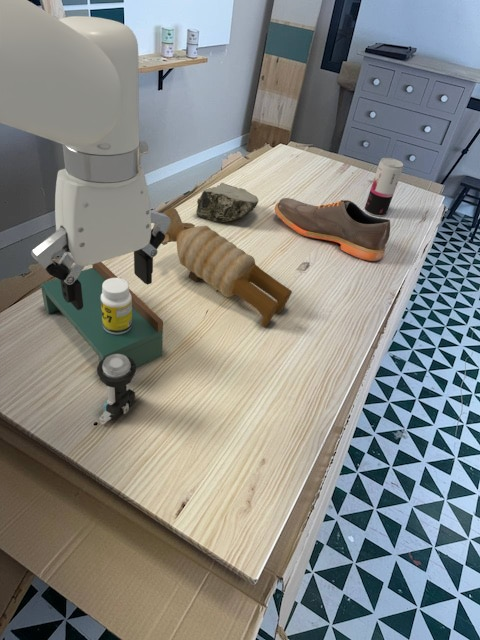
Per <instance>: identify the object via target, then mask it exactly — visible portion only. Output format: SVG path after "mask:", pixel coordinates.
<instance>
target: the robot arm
mask: <svg viewBox="0 0 480 640" xmlns="http://www.w3.org/2000/svg"><path fill="white" fill-rule="evenodd" d="M139 81H140V79H139V44H138V38H137V37H136V35H135V33H134V31H133V30H132V29H131V28H130V27H129V26H128V25H127V24H124V23H122V22H120V21H117V20H112V19H108V18H103V17H96V16H86V15H84V16H82V15H71V16H65V17H62V18H59V19H58V17H55V16H53V15H52V14H50V13H49V12H47V11H46V10H44V9H42V8H41V7H39V6H37V4H34V3H33V2H32V1H29V0H0V124H2V125H5V126H8V127H11V128H14V129H17V130H20V131H23V132H26V133H28V134H31V135H34V136H38V137H41V138H43V139H46V140H49V141H52V142H55V143H58V144H61V145H62V152H63V160H64V168H61V169H58V171H57V175H56V183H55V197H54V217H55V218H54V219H55V220H54V221H55V232H54V233H52V234H50V236H48V237H47V238H46V239H45V240H43V241H42V242H41V243H39V244H38V245H37V246H36V247H34V248H33V249H32V250H31V252H30V254H31V257H32V258H34V260H35V261H36V262H37V263H38V264H39V265H40V266H41V267H42V268H43V269H44V270H45V271H46V272H47V274H49V275H50V276H52V277H54V278H55V279H60V280H61V287H62V294H63V297H64V299H65V300H66V302H67V303H69V302H71V304H72V305H73V306H74V307H75V308H76V309H77V310H80V309H82V307H83V298H82V289H81V283H80V281H79V280H78V279H77V277H78V276H79V274H80V273H81V271H83V270H84V269H85V267H87V266H91V265H92V264H95V263H99V262H102V263H103V262H105V261H108V260H112V259H115V258H118V257H122V256H124V255H128V254H131V253H133V271H134V275H135V276H136V277H137V278H138V279H139V280H140V281H142V282H143V283H144V285H152V282H153V273H154V258H155V257H157V255H158V250H157V249H159V247H160V246H161V245H162V242H163V240H164V239H165V235H164V234H165V233H166V232H167V229H168V227H169V225H170V223H171V219H170V218H169V217H168V216H166V215H165V214H162V213H163V212H159V211H155V210H153V209H151V201H150V195H149V188H148V183H147V179H146V174H145V171H144V169H143V167H141V157H142V156H143V155H147V154H148V153H149V146H148V143H147V141H145V140H142V141H140V97H139V96H140V95H139V94H140V93H139V92H140V91H139V90H140V89H139V87H140V86H139ZM152 224H153V227H154V228H152ZM154 224H155V225H154ZM59 251H61V252H64V253H63V254H62V256H61V257H60V259H59V261H57V262H56V261H55V260H53V259H52V258H53V257H54V255H55V254H56V253H58V252H59Z"/></svg>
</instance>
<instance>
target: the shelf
mask: <svg viewBox="0 0 480 640" xmlns="http://www.w3.org/2000/svg"><path fill="white" fill-rule="evenodd" d="M110 278H119V277H118V276H117V275H116V274H115V273H114V272H113V271H112V270H110V268H108V266H106V264H104V263H103V261H102V262H99V263H95V264H92V266H91V267H90V268H87V269H83V270H82V271H81V273H80V274H79V276H78V277H77V279H78V280H79V281H80V283H81V289H82V298H83V307H82V309H80V310H77V309H76V308H75V307H74V306H73V305H72V304H71V302H69V303H67V302H66V300H65V299H64V297H63V294H62V287H61V280H60V279H58V278H55V279H54V278H53V279H51V280H49V281H44V282H42V283H40V288H41V293H42V300H43V305H44V306H43V307H44V310H45V311H46V313H47V314H49V315H51V314H53V313H55V312H59V311H60V313H61V314H62V315H63V316H64V317H65V318H66V320H67V321H68V322H69V323H70V324H71V325H72V327H73V328H74V329H75V330H76V331H77V332H78V334H80V336H81V337H82V338H83V340H84V341H85V342H86V343H87V344H88V345H89V347H90V348H91V349H92V350H93V351H94V352H95V354H96V355H97V356H98V363H99V362H100V361H101V360H102V359H104V358H106V357H108V356H110V355H113V354H121V355H125V356H128V357H130V358H131V359H132V360H133V361H134V362H135V364H136V369H137V368H138V367H141V366H143V365H145V364H147V363H149V362H152V361H154V360H155V359H158V358H160V357H162V356H163V338H164V337H163V334H164V320H162V318H161V317H159V316H158V314H156V313H155V312H154V311H153V310H152V309H151V307H149V306H148V305H147V304H146V303H145V302H144V301H143V300H142V299H141V298H139V297H138V295H136V293H135V292H133V290H131V288H129V292H130V294H131V297H132V327H131V329H130V330H129V331H127V332H126V333H123V334H111V333H108V332H107V331H106V330H105V329H104V328H103V324H102V312H101V311H102V310H101V294H102V284H103V282H104V281H106V280H107V279H110ZM103 374H104V372H103Z"/></svg>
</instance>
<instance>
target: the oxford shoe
mask: <svg viewBox="0 0 480 640" xmlns="http://www.w3.org/2000/svg"><path fill="white" fill-rule="evenodd" d="M274 213H275V214H276V216H277V217H278V218H279V219H280V220H281V221H282V222H283V223H284V224H285V225H286V226H288V227H289V228H290V229H291V230H293V231H294V232H296V233H298V234H299V235H301V236H304V237H305V238H311V239H317V240H323V241H330V242H335V243H338V244H340V251H342V252H344V253H346V254H349V255H350V256H352V257H355V258H357V259H360V260H363V261H369V262H375V261H380V260H381V259H383V257H384V255H385V251H386V245H387V244H388V241H389V238H390V234H391V220H390V219H389V218H383V217H382V218H381V217H377V216H373V215H371V214H369V213H367V212H366V211H363V210H362V209H361V208H360V206H358V205H357V204H356V203H355V202H353V201H351V200H348V199H340V200H337V201H336V202H331V203H327V204H325V205H324V204H320V205H313V204H307V203H305V202H302V201H299V200H296V199H295V198H291V197H290V198H289V197H283V198H281V199H280V200H279V201H278V202H277V203H276V204H275V205H274Z"/></svg>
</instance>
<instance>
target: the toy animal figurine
mask: <svg viewBox="0 0 480 640" xmlns="http://www.w3.org/2000/svg"><path fill="white" fill-rule="evenodd" d="M161 213H162V214H165V215H166V216H168V217H169V218H170V219H171V223H170V225H169V227H168V229H167V232H166V233H165V234H164V235H165V239H164V240H163V242H162V243H161V245H162V246H165V245H168V243H171V242H173V243H174V242H175V243H176V249H177V258H178V261H179V263H180V265H181V266H183V267H185V268H186V269H187V270H188V271H189V274H188V278H189V279H190V280H192V281H193V282H195V283H197V282H199V281H200V280H201V279H202V280H203V281H204V282H205V283H206V284H208V285H210V286H211V287H212V288H213V289H214V290H215V291H216V293H218V292H220V294H221V295H222V296H224V297H227V298H231V297H233V296H235V295H236V296H238V297H239V298H241V299H242V300H243V301H245V302H246V303H247V304H248V305H250V306H252V307H253V308H254V309H255V310H257V311H258V313H259V314H260V315H261V316H262V320H261V322H260V326H262V327H263V328H265V327H267V326H268V325H269V324H270V323H271V321H272V319H273V317H274V315H275V314H277V315H279V314H280V313H281V312H282V311H283V310H284V309H285V307H286V305H287V303H288V301H289V299H290V297H291V295H292V294H293V291H292V290H291V289H290V288H288V287H287V286H286V285H284V284H282V283H281V282H280V281H278V280H276V279H275V278H274V277H273V276H271V275H270V274H268V273H267V272H265V271H264V269H261V267H259V266H258V265H257V264H256V260H255V258H254V256H252V255H250V254H248V253H246V252H245V251H244V250H243V249H241V248H240V247H238V246H237V245H235V244H234V243H233V242H231V241H229V240H228V239H227V238H225V237H224V236H221V235H220V234H219V233H218V232H217V231H215V230H213V229H211V228H210V227H209V226H208V225H197V226H195V224H193V223H191V222H183V221H182V219H181V216H180V214H179V212H178V210H177V208H175V207H171V208H168V209H165V210H164V211H162V212H161ZM154 225H155V224H154V223H153V228H154ZM153 228H152V229H153Z"/></svg>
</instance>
